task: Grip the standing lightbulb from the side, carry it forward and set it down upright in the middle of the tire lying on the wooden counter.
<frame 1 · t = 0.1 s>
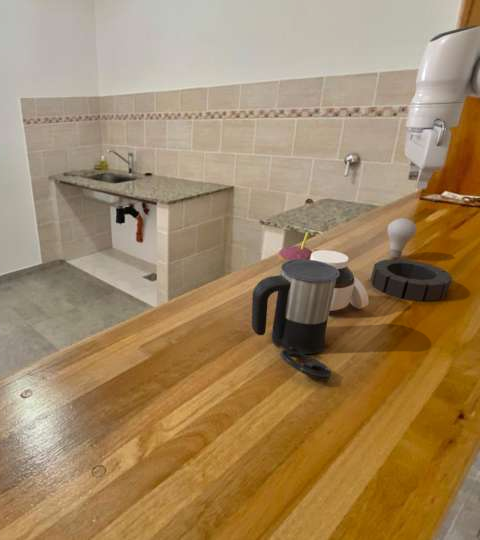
hand: (415, 183, 86), 22 cm above the table, tool pointing down, fingers open, 8 cm apart
tire: (406, 286, 88), on the table
spread jar: (330, 306, 82), on the table
lightbulb: (394, 258, 103), on the table
milk frother: (301, 354, 68), on the table
cupcake: (293, 273, 98), on the table
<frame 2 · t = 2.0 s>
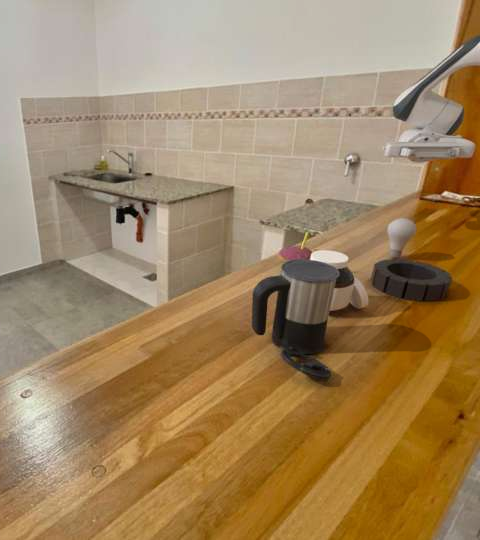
hand: (433, 153, 103), 25 cm above the table, tool horizontal, fingers open, 8 cm apart
nothing on the table moved.
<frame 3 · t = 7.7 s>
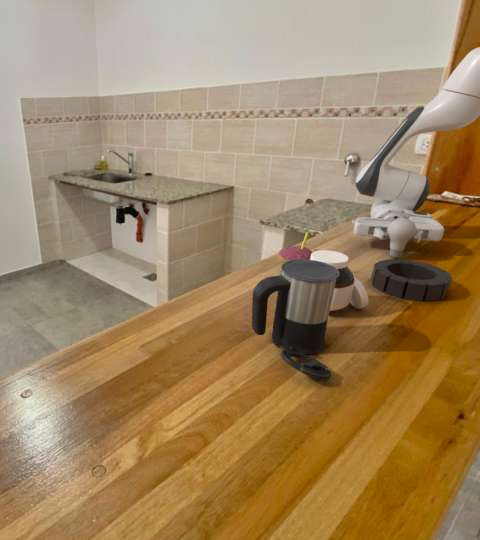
hand: (400, 238, 99), 6 cm above the table, tool horizontal, fingers closed on lightbulb, 6 cm apart
lightbulb: (394, 258, 103), on the table, touching gripper
everything else where it was.
when the fingers open (6 cm above the table, at t = 16.0 s): lightbulb stays where it is, resting in tire.
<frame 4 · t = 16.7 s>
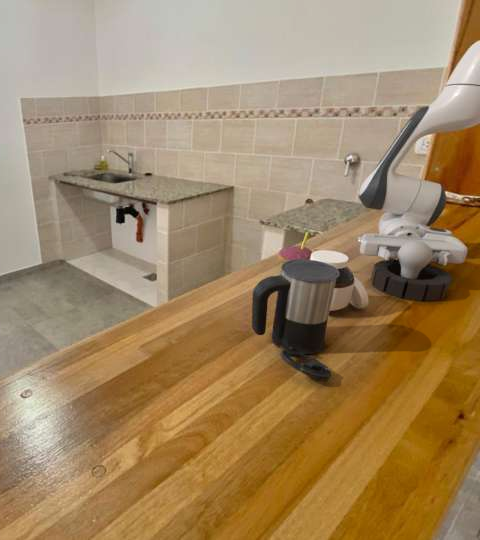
hand: (416, 260, 84), 7 cm above the table, tool horizontal, fingers open, 8 cm apart
lightbulb: (405, 287, 88), resting in tire
everything else where it was.
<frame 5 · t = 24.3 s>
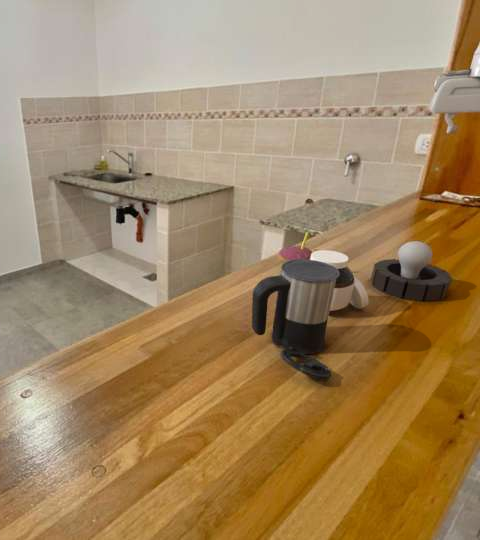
hand: (475, 132, 91), 31 cm above the table, tool pointing down, fingers open, 8 cm apart
nothing on the table moved.
at the end: lightbulb 0.2 cm off-centre on the tire, point 0.0 cm above the tire's base; lightbulb tilted 0°; the gripper is holding nothing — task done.
